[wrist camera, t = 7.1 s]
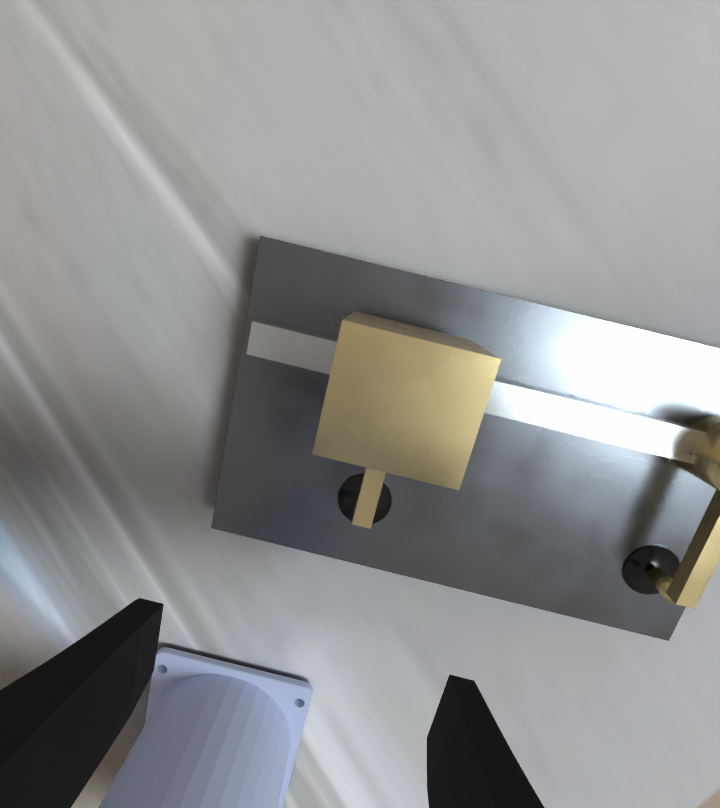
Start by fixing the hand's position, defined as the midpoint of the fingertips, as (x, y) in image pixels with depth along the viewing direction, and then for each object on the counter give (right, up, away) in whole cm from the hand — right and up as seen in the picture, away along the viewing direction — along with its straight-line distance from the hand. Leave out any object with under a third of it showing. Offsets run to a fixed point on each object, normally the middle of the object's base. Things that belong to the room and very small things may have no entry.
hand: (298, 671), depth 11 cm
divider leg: (+2, +6, +6) cm, 9 cm away
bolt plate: (+6, +5, +8) cm, 11 cm away
